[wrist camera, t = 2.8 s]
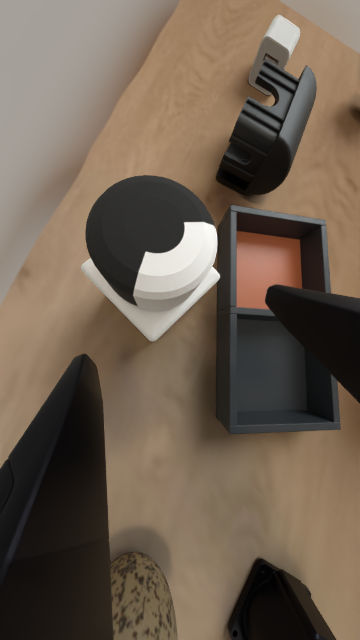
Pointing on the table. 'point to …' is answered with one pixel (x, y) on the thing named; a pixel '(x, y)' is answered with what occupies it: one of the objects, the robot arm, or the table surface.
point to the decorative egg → (141, 600)
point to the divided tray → (269, 325)
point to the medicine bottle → (151, 250)
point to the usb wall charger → (275, 47)
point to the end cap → (268, 132)
